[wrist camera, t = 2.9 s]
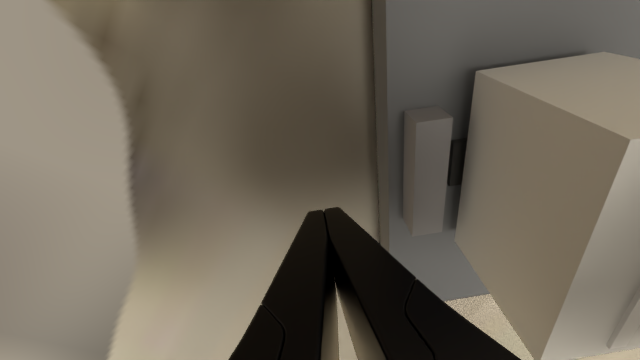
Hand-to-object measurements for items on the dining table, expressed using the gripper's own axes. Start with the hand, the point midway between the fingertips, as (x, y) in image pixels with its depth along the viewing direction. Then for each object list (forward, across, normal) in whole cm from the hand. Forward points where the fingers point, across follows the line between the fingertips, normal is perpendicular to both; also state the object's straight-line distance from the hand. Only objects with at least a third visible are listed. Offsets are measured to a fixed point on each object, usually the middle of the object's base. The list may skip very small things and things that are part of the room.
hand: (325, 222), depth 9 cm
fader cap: (+2, -6, 0) cm, 6 cm away
